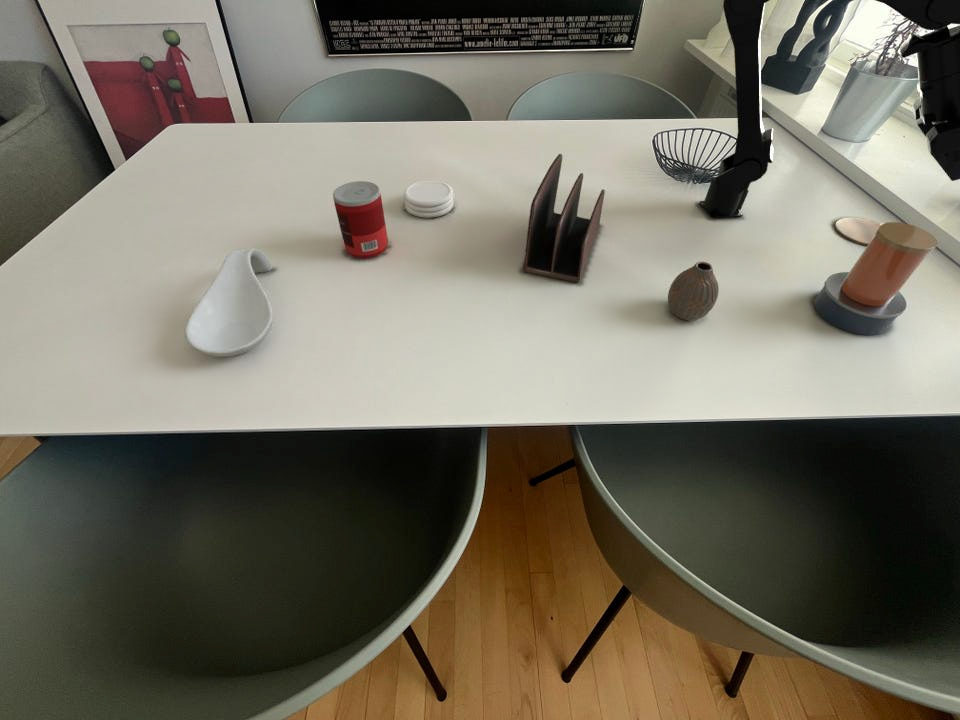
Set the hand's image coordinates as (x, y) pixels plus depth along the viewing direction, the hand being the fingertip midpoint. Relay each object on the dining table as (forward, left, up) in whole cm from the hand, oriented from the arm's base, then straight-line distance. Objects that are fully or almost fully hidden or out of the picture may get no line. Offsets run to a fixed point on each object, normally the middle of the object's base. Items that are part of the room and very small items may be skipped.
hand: (950, 168), depth 78 cm
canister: (-20, -17, -11) cm, 29 cm away
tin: (-20, -17, -15) cm, 30 cm away
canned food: (-97, +10, -15) cm, 99 cm away
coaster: (-85, +24, -15) cm, 90 cm away
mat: (-2, +5, -15) cm, 16 cm away
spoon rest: (-115, -7, -15) cm, 117 cm away
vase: (-46, -14, -15) cm, 51 cm away
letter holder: (-61, +6, -15) cm, 64 cm away
